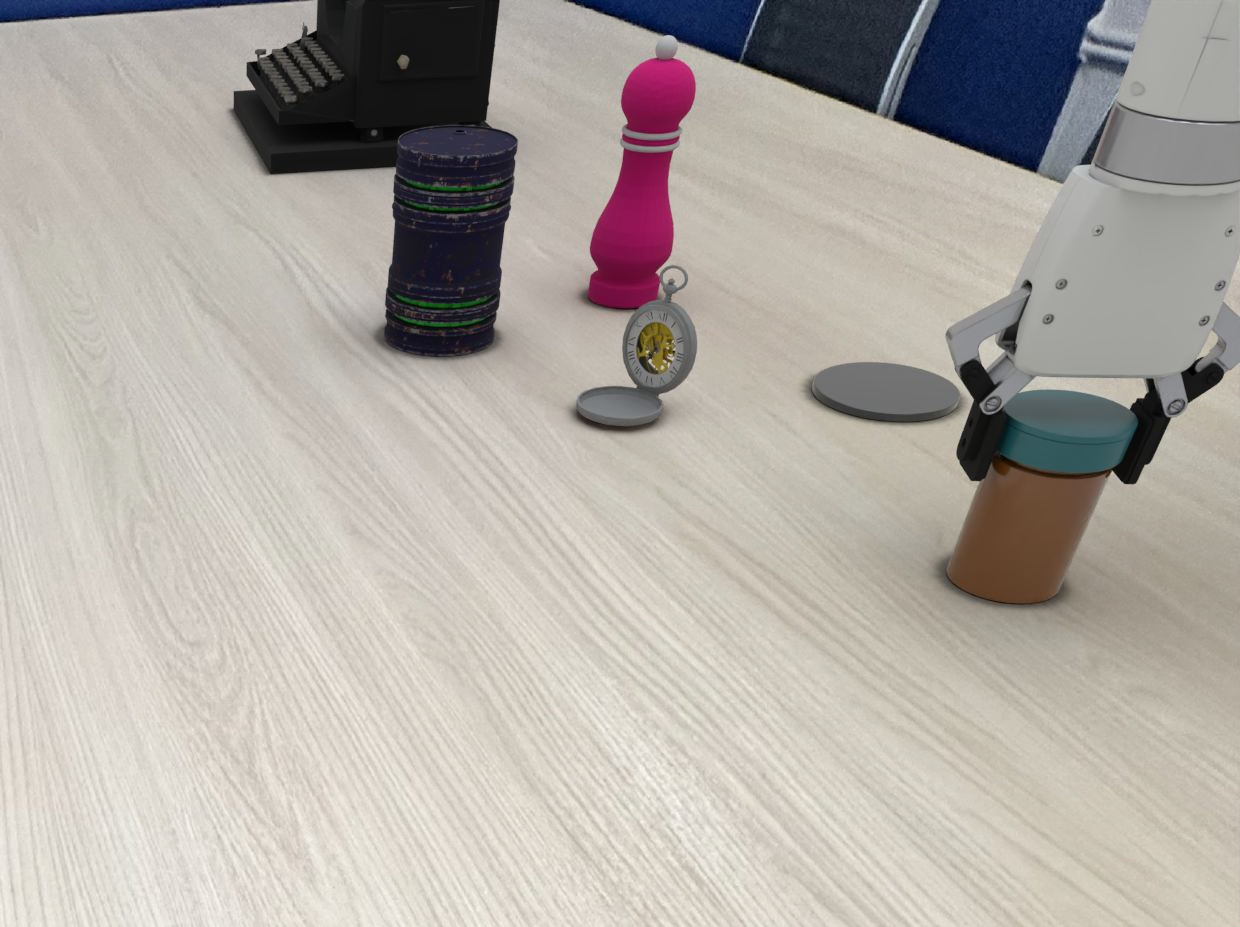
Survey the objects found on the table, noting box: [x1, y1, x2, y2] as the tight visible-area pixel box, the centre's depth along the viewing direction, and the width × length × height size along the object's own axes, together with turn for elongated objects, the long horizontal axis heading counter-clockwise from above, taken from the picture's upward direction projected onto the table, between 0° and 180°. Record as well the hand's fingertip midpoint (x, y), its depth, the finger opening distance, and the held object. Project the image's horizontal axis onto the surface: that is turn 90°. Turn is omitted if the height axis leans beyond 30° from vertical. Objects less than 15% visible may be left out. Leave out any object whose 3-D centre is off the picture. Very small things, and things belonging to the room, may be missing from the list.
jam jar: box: [946, 450, 1113, 605], centre depth 90 cm, size 7×7×10 cm
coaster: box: [811, 361, 961, 423], centre depth 115 cm, size 11×11×1 cm
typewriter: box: [233, 0, 501, 175], centre depth 167 cm, size 31×27×25 cm
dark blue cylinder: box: [383, 125, 519, 357], centre depth 121 cm, size 10×10×15 cm
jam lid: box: [996, 388, 1138, 473], centre depth 87 cm, size 7×7×2 cm
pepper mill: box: [587, 34, 697, 310], centre depth 125 cm, size 7×7×20 cm
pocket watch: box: [575, 264, 698, 427], centre depth 110 cm, size 8×8×10 cm
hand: (1045, 472), depth 88 cm, fingers open, 8 cm apart
